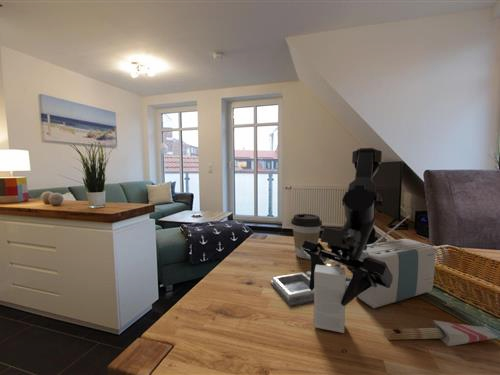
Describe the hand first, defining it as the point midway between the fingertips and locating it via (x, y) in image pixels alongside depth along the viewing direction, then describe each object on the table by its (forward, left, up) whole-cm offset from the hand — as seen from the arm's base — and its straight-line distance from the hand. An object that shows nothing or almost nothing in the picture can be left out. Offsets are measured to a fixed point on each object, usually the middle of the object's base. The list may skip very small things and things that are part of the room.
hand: (325, 296), depth 49 cm
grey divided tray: (-8, -15, -7) cm, 19 cm away
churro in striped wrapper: (-19, +10, -7) cm, 23 cm away
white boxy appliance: (-24, -5, -7) cm, 26 cm away
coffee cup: (-18, -36, -7) cm, 41 cm away
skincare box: (-1, -1, -7) cm, 7 cm away
